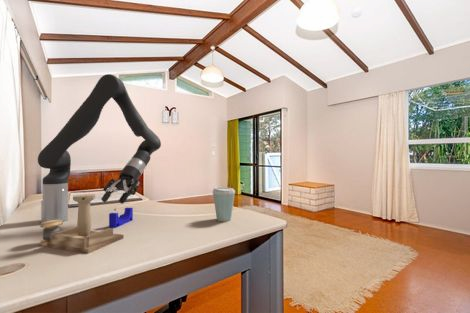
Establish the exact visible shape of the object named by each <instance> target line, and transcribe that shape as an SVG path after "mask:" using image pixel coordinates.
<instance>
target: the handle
mask: <svg viewBox="0 0 470 313" xmlns="http://www.w3.org/2000/svg"><path fill="white" fill-rule="evenodd" d="M94 199H96V194H94V193H87V194H86V193H85V194H84V193H83V194H75V195H73V196H72V201H74V202H76V203H78V204H77V205H78V207H77V208H78V209H77V224H76V226H77V230H78V235H79V236H83V237H86V236H89V235H90V232H91V231H92V230H91V229H92V215H91V214H92V213H91V201H93V200H94Z"/></svg>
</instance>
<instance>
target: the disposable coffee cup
mask: <svg viewBox="0 0 470 313" xmlns="http://www.w3.org/2000/svg"><path fill="white" fill-rule="evenodd" d="M235 194H236V190H235V189H234V188H232V187H226V186H214V187H213V190H212V196H213V201H214V202H213V203H214V209H215V215H216V216H215V217H216V220H217V221H218V222H229V221H231V219H232V216H233V209H234V202H235Z"/></svg>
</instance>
